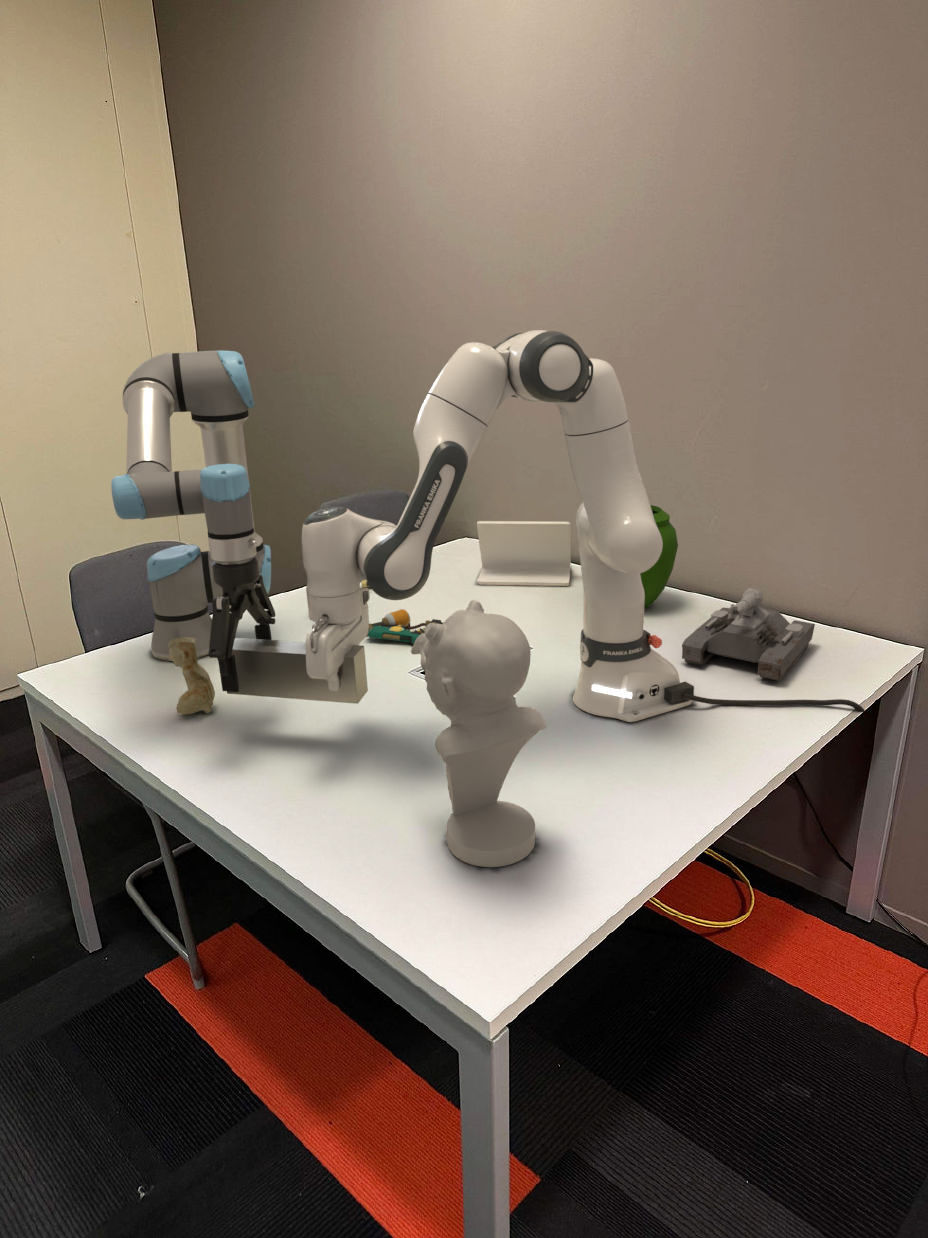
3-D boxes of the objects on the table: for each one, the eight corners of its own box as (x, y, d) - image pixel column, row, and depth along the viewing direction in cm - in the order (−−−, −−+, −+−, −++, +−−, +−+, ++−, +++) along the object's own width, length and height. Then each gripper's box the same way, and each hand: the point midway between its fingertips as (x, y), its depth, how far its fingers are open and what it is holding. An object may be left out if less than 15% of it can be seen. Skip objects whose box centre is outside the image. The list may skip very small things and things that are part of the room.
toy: (722, 627, 198) (727, 565, 192) (812, 645, 187) (820, 579, 181) (680, 665, 178) (684, 597, 173) (777, 687, 167) (785, 615, 162)
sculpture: (181, 705, 167) (169, 634, 162) (218, 702, 168) (208, 632, 162) (175, 719, 162) (163, 646, 156) (213, 716, 162) (203, 643, 157)
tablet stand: (569, 585, 229) (570, 524, 223) (476, 584, 232) (475, 523, 226) (570, 566, 246) (571, 508, 240) (484, 564, 249) (483, 507, 243)
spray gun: (454, 634, 200) (417, 658, 189) (396, 618, 208) (358, 640, 197) (454, 617, 199) (417, 641, 187) (396, 602, 207) (357, 624, 195)
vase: (616, 587, 227) (619, 497, 218) (686, 600, 216) (693, 505, 207) (581, 608, 212) (583, 513, 203) (654, 623, 201) (659, 523, 192)
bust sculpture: (481, 772, 140) (476, 569, 128) (565, 848, 120) (569, 617, 108) (392, 800, 134) (378, 588, 121) (465, 886, 114) (457, 642, 101)
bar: (226, 693, 150) (220, 648, 147) (240, 681, 154) (234, 637, 151) (357, 703, 144) (353, 657, 141) (368, 690, 149) (364, 645, 146)
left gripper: (218, 583, 131) (235, 707, 138) (286, 539, 153) (297, 648, 161) (174, 580, 132) (193, 703, 140) (247, 537, 155) (261, 645, 163)
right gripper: (329, 629, 131) (337, 709, 136) (372, 586, 150) (378, 658, 155) (291, 627, 133) (300, 706, 138) (338, 585, 151) (345, 656, 156)
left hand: (249, 674), depth 150 cm, fingers open, 13 cm apart
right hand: (342, 681), depth 146 cm, fingers closed on bar, 5 cm apart
